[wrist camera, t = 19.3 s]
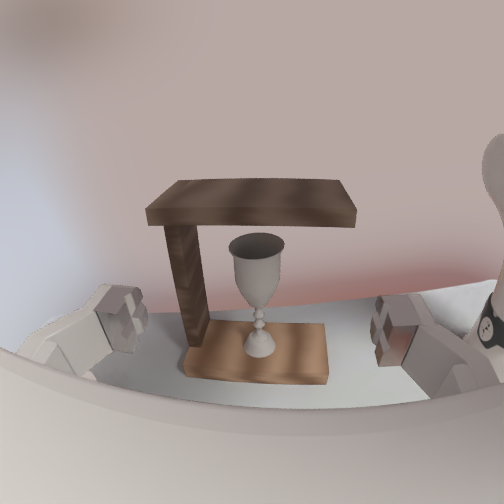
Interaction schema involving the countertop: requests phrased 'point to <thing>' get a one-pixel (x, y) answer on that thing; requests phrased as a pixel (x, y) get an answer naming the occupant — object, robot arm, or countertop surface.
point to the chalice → (257, 282)
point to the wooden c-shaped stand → (192, 281)
